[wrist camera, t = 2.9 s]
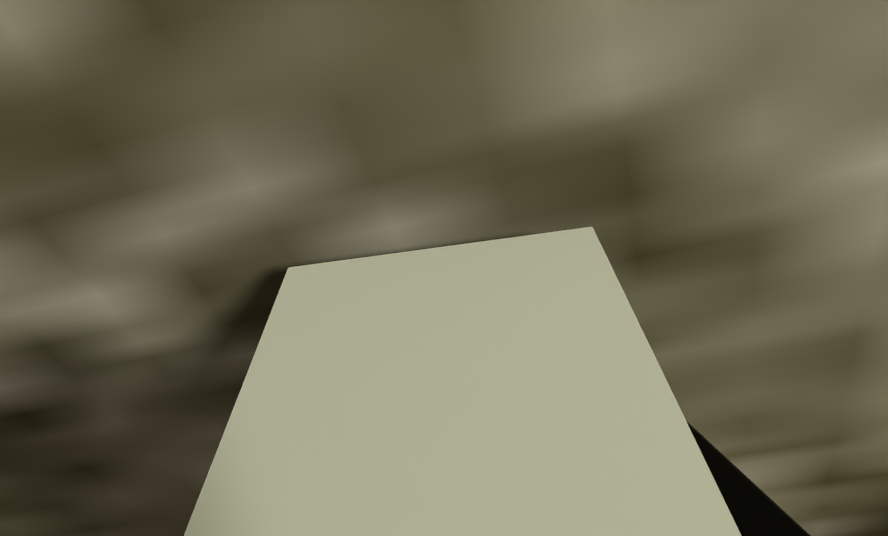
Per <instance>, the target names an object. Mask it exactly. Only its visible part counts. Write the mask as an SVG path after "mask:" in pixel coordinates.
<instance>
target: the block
mask: <svg viewBox="0 0 888 536" xmlns="http://www.w3.org/2000/svg"><path fill="white" fill-rule="evenodd" d="M184 536H741V534H740V532H739V530H738V527H737V525H736V523H735V521H734V519H733V517H732V515H731V513H730V511H729V509H728V507H727V505H726V503H725V501H724V498H723V496H722V494H721V492H720V490H719V488H718V486H717V484H716V482H715V480H714V478H713V476H712V474H711V472H710V469H709V467H708V465H707V463H706V461H705V459H704V457H703V455H702V453H701V451H700V449H699V447H698V445H697V443H696V441H695V438H694V436H693V434H692V432H691V430H690V428H689V426H688V424H687V422H686V420H685V418H684V416H683V414H682V412H681V409H680V407H679V405H678V403H677V401H676V399H675V397H674V395H673V393H672V391H671V389H670V387H669V385H668V383H667V380H666V378H665V376H664V374H663V372H662V370H661V368H660V366H659V364H658V362H657V360H656V358H655V356H654V354H653V351H652V349H651V347H650V345H649V343H648V341H647V339H646V337H645V335H644V333H643V331H642V329H641V327H640V325H639V322H638V320H637V318H636V316H635V314H634V312H633V310H632V308H631V306H630V304H629V302H628V300H627V298H626V296H625V294H624V291H623V289H622V287H621V285H620V283H619V281H618V279H617V277H616V275H615V273H614V271H613V269H612V267H611V265H610V262H609V260H608V258H607V256H606V254H605V252H604V250H603V248H602V246H601V244H600V242H599V240H598V238H597V236H596V233H595V231H594V229H593V227H586V228H579V229H571V230H564V231H556V232H549V233H541V234H534V235H527V236H519V237H512V238H504V239H497V240H489V241H482V242H475V243H467V244H460V245H452V246H445V247H437V248H430V249H422V250H415V251H408V252H400V253H393V254H385V255H378V256H370V257H363V258H356V259H348V260H341V261H333V262H326V263H318V264H311V265H303V266H296V267H289V268H288V269H287V272H286V275H285V277H284V280H283V282H282V285H281V287H280V290H279V293H278V295H277V298H276V300H275V303H274V305H273V308H272V310H271V313H270V316H269V318H268V321H267V323H266V326H265V328H264V331H263V334H262V336H261V339H260V341H259V344H258V346H257V349H256V351H255V354H254V357H253V359H252V362H251V364H250V367H249V369H248V372H247V375H246V377H245V380H244V382H243V385H242V387H241V390H240V392H239V395H238V398H237V400H236V403H235V405H234V408H233V410H232V413H231V416H230V418H229V421H228V423H227V426H226V428H225V431H224V434H223V436H222V439H221V441H220V444H219V446H218V449H217V451H216V454H215V457H214V459H213V462H212V464H211V467H210V469H209V472H208V475H207V477H206V480H205V482H204V485H203V487H202V490H201V492H200V495H199V498H198V500H197V503H196V505H195V508H194V510H193V513H192V516H191V518H190V521H189V523H188V526H187V528H186V531H185V533H184Z"/></svg>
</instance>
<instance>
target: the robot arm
mask: <svg viewBox="0 0 888 536" xmlns="http://www.w3.org/2000/svg"><path fill="white" fill-rule="evenodd" d="M686 422H687V421H686ZM687 424H688V426H689V428H690V430H691V432H692V434H693V436H694V438H695V441H696V443H697V445H698V447H699V449H700V451H701V453H702V455H703V457H704V459H705V461H706V463H707V465H708V467H709V469H710V472H711V474H712V476H713V478H714V480H715V482H716V484H717V486H718V488H719V490H720V492H721V494H722V496H723V498H724V501H725V503H726V505H727V507H728V509H729V511H730V513H731V515H732V517H733V519H734V521H735V523H736V525H737V527H738V530H739V532H740V534H741V536H810V535H809V534H808V533H807V532H806V531H805V530H804V529H803V528H802V527H801V526H799V525H798V524H797V523H796V522H795V521H794V520H793V519H792V518H791V517H790V516H789V515H788V514H786V513H785V512H784V511H783V510H782V509H781V508H780V507H779V506H778V505H777V504H776V503H775V502H773V501H772V500H771V499H770V498H769V497H768V496H767V495H766V494H765V493H764V492H763V491H762V490H760V489H759V488H758V487H757V486H756V485H755V484H754V483H753V482H752V481H751V480H750V479H749V478H747V477H746V476H745V475H744V474H743V473H742V472H741V471H740V470H739V469H738V468H737V467H736V466H734V465H733V464H732V463H731V462H730V461H729V460H728V459H727V458H726V457H725V456H724V455H723V454H721V453H720V452H719V451H718V450H717V449H716V448H715V447H714V446H713V445H712V444H711V443H710V442H708V441H707V440H706V439H705V438H704V437H703V436H702V435H701V434H700V433H699V432H698V431H697V430H695V429H694V428H693V427H692V426H691V425H690V424H689V423H688V422H687Z"/></svg>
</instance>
